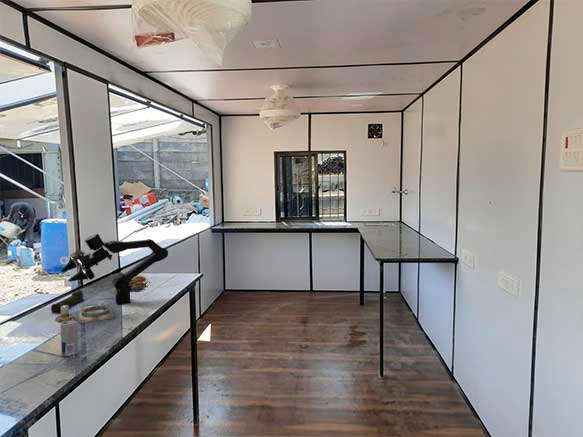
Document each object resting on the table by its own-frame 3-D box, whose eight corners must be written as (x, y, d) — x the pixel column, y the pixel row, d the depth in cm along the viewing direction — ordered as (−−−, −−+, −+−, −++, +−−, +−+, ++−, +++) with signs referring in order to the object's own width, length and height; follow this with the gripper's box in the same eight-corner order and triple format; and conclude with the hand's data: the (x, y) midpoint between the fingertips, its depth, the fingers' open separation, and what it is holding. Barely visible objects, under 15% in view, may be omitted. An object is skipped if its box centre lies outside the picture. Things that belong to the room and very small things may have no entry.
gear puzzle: (129, 279, 252) (129, 273, 252) (155, 279, 254) (155, 273, 254) (113, 293, 222) (113, 286, 221) (142, 292, 223) (142, 285, 223)
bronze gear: (74, 315, 184) (74, 302, 183) (75, 320, 177) (74, 307, 177) (55, 317, 180) (55, 305, 179) (55, 323, 173) (54, 310, 173)
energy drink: (66, 350, 146) (64, 319, 144) (81, 350, 146) (79, 319, 145) (58, 357, 140) (57, 325, 139) (74, 356, 141) (73, 324, 140)
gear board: (109, 305, 198) (109, 299, 197) (113, 318, 181) (113, 311, 180) (78, 310, 191) (77, 303, 190) (79, 323, 174) (79, 315, 173)
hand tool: (60, 313, 186) (59, 302, 185) (50, 313, 186) (50, 302, 186) (88, 299, 208) (88, 289, 208) (79, 299, 209) (79, 289, 208)
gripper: (81, 238, 194) (49, 255, 186) (97, 254, 183) (64, 274, 175) (90, 253, 201) (60, 271, 193) (106, 270, 190) (75, 290, 182)
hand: (65, 276), depth 186 cm, fingers open, 9 cm apart
